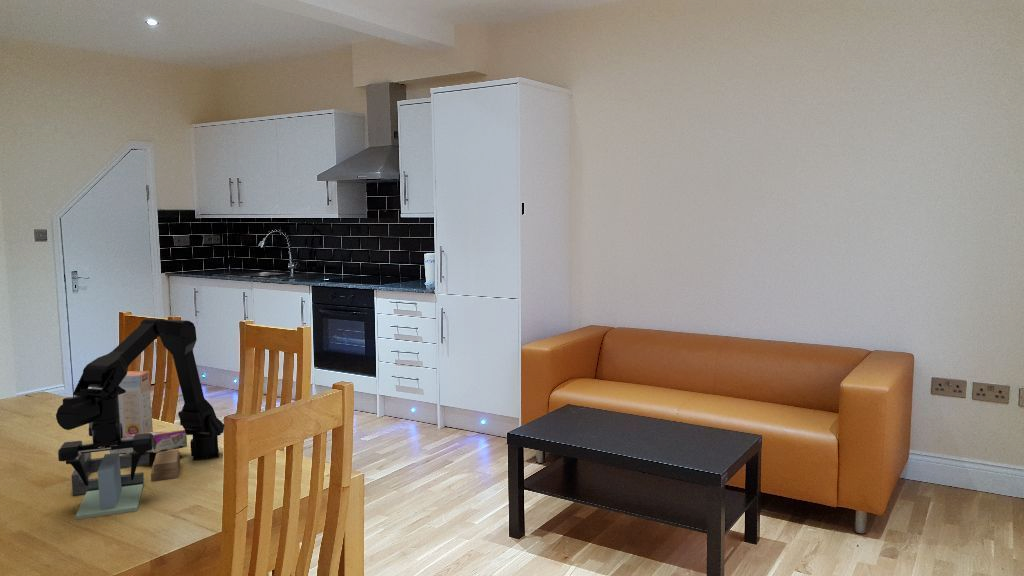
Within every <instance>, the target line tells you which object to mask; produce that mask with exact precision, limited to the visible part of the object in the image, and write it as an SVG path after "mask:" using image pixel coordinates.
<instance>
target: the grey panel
mask: <svg viewBox="0 0 1024 576" xmlns="http://www.w3.org/2000/svg"><path fill="white" fill-rule="evenodd" d="M102 458H103V460H102V462H101V464H100V467H99V469H98V471H97V478H98V485H99V499H100V510H105V509H111V508H116V505H117V502H118V499H119V496H120V493H121V489H122V486H121V475H122V474H121V468H120V454H119V453H112V454H110V453H105V454H104V455H103V457H102Z"/></svg>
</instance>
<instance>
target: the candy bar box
mask: <svg viewBox="0 0 1024 576" xmlns="http://www.w3.org/2000/svg"><path fill="white" fill-rule="evenodd" d="M148 433H151V434H152V435H153V438H154V445H153V448H152V450H150V451H147V453H149V454H152V453H153V454H155V453H157V452H164V451H172V450H179V449H183V448H187V447H188V441H187V439H188V437H187V435H186V432H185V429H183V430H179V429H177V430H169V431H168V430H166V431H163V430H162V431H153V432H148ZM137 434H145V433H137ZM134 435H136V434H131V435H124V436H123V438H122V439H121V441H122V440H131V439H133V438H134ZM115 446H117V445H115ZM132 452H133V448H125V449H116V450H109V454H112V453H119V455H129V454H132Z"/></svg>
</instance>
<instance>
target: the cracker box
mask: <svg viewBox="0 0 1024 576" xmlns="http://www.w3.org/2000/svg"><path fill="white" fill-rule="evenodd" d="M119 386H120V387H121V388H123V389H124V390H126V392H125V393H123V394H120V395H118V399H119V414H120V423H122V428H123V436H124V435H131V434H137V433H148V432H154V431H153V416H152V415H153V414H152V413H153V412H152V401H151V400H152V399H151V397H152V396H151V385H150V371H149V370H140V371H139V370H132V371H131V370H130V371H127V375H126V376H125V378H124V379H123V380H122V382H121V383H120V384H119ZM91 389H102V388H94V387H91Z"/></svg>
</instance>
